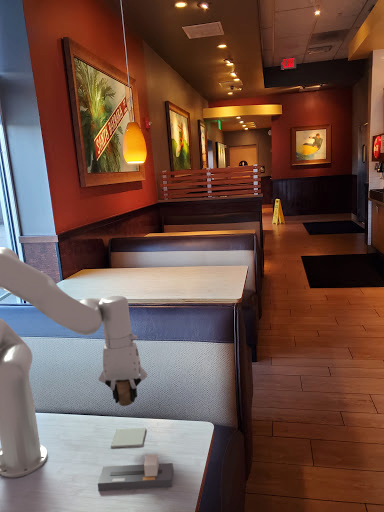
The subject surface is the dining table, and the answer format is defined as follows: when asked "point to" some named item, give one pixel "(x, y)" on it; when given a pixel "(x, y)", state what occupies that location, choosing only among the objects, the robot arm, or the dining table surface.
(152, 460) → the switch tab
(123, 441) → the mat
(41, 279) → the robot arm
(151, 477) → the switch board
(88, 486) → the dining table surface
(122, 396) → the tool handle
